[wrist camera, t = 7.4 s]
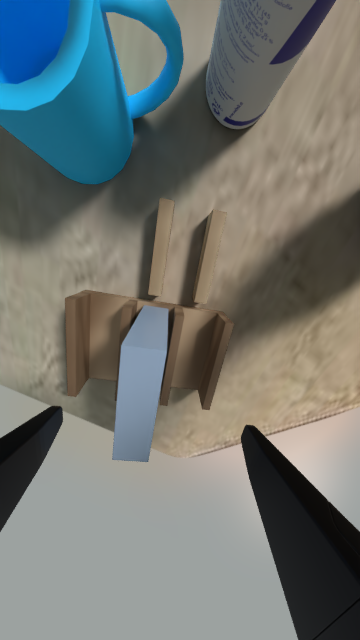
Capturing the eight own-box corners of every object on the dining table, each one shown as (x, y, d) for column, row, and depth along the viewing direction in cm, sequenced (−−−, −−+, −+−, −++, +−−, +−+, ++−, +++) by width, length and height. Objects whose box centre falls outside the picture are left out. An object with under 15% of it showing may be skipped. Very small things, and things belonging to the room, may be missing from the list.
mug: (51, 191, 16) (-65, 124, 8) (9, 60, 13) (-232, -236, 5) (186, 170, 16) (202, 83, 8) (171, 34, 13) (173, -298, 5)
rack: (223, 311, 20) (235, 324, 16) (203, 385, 23) (210, 410, 19) (85, 289, 18) (63, 297, 15) (84, 371, 21) (66, 395, 18)
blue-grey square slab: (168, 308, 18) (166, 351, 10) (157, 380, 21) (148, 461, 13) (144, 305, 18) (121, 345, 10) (135, 378, 21) (112, 459, 12)
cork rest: (220, 217, 17) (227, 212, 15) (202, 299, 19) (206, 304, 17) (161, 204, 16) (159, 197, 14) (150, 290, 19) (148, 294, 17)
